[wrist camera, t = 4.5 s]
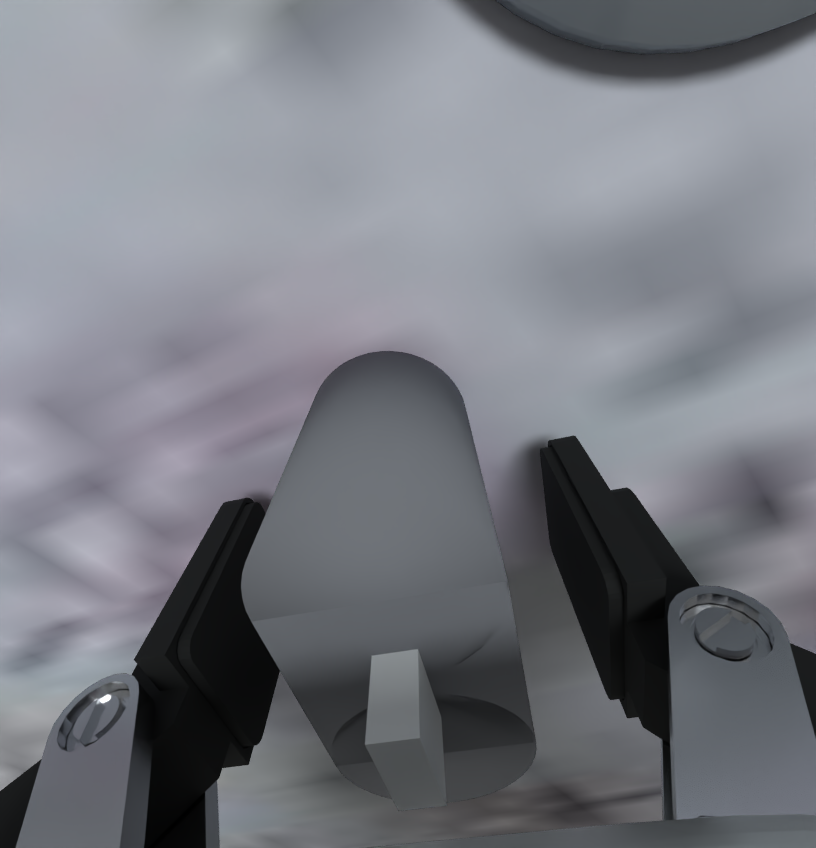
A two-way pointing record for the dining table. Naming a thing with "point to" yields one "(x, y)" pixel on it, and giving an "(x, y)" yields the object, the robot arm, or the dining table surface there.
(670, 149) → the dining table surface
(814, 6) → the grey flat disc
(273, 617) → the plug
